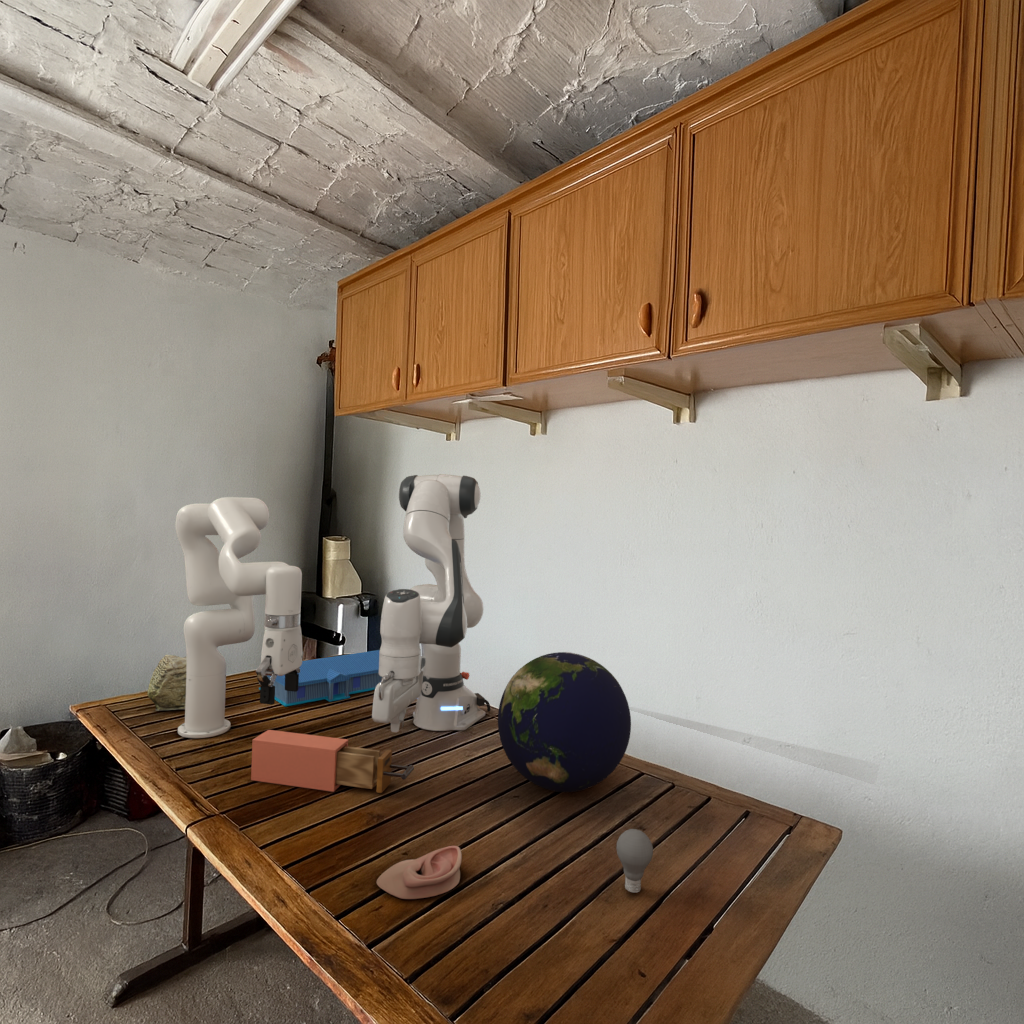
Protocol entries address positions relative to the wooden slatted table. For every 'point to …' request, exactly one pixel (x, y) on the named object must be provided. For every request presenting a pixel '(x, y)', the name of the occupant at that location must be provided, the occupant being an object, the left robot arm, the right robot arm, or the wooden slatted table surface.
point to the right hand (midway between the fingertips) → (397, 729)
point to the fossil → (169, 683)
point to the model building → (331, 678)
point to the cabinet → (296, 759)
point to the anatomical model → (423, 874)
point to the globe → (564, 722)
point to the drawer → (366, 768)
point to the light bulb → (634, 857)
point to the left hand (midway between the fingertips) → (279, 696)
